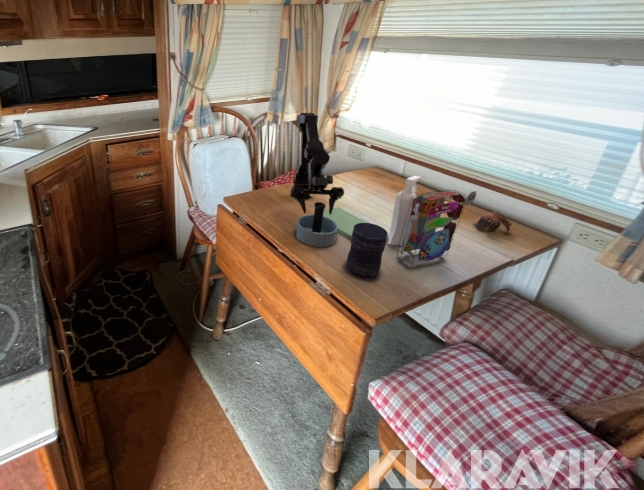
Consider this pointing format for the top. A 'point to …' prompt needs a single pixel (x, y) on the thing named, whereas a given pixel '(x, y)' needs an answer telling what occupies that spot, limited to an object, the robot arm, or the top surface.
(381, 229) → the storage jar
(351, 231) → the cutting board
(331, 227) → the bowl
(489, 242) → the top surface
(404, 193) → the white pump bottle
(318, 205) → the black post stand
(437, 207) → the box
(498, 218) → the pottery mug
